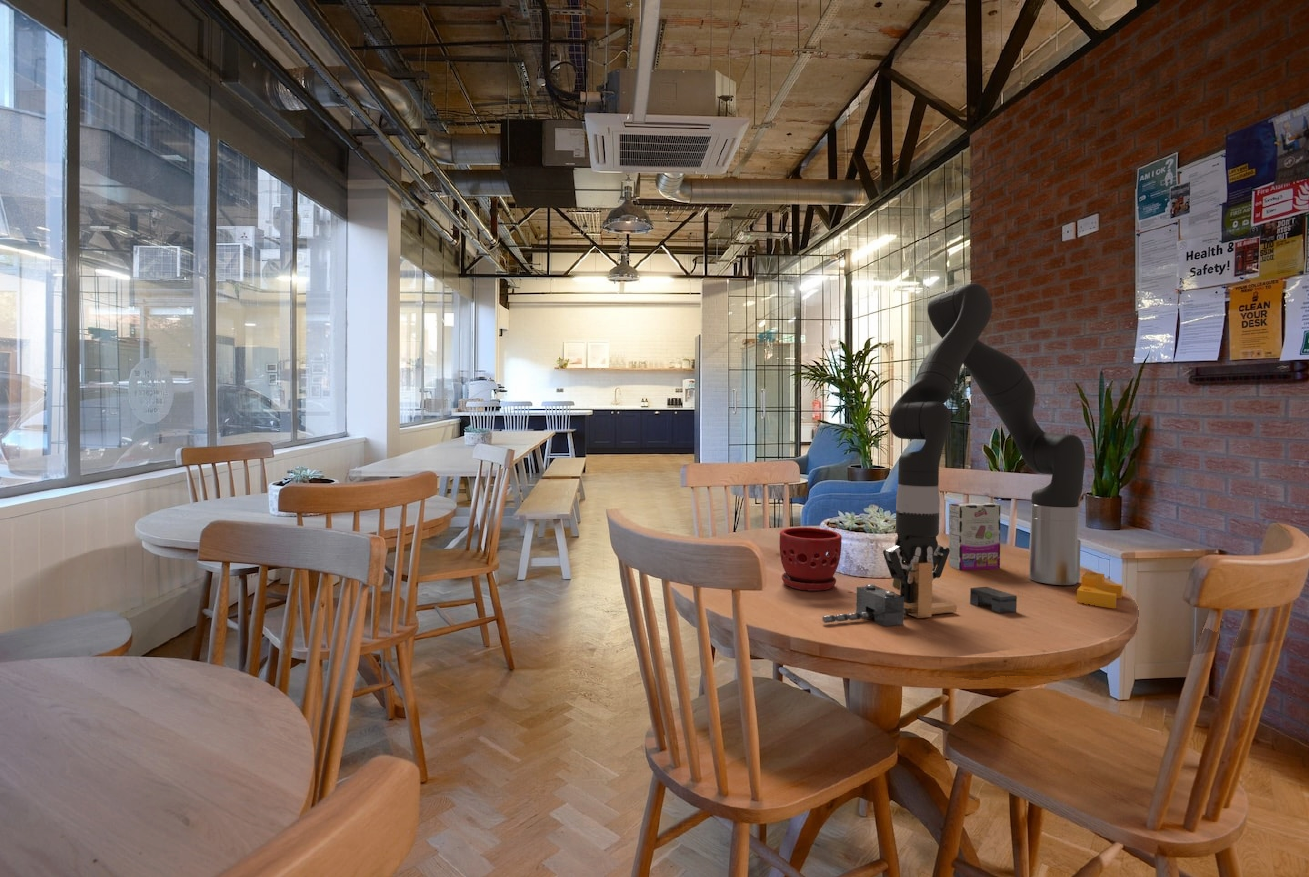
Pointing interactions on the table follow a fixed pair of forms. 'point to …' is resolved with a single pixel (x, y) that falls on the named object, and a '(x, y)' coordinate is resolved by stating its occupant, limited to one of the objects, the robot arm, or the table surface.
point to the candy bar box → (974, 536)
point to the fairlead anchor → (881, 604)
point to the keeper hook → (993, 599)
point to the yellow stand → (1098, 591)
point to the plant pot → (810, 557)
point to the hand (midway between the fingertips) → (915, 601)
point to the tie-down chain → (920, 599)
